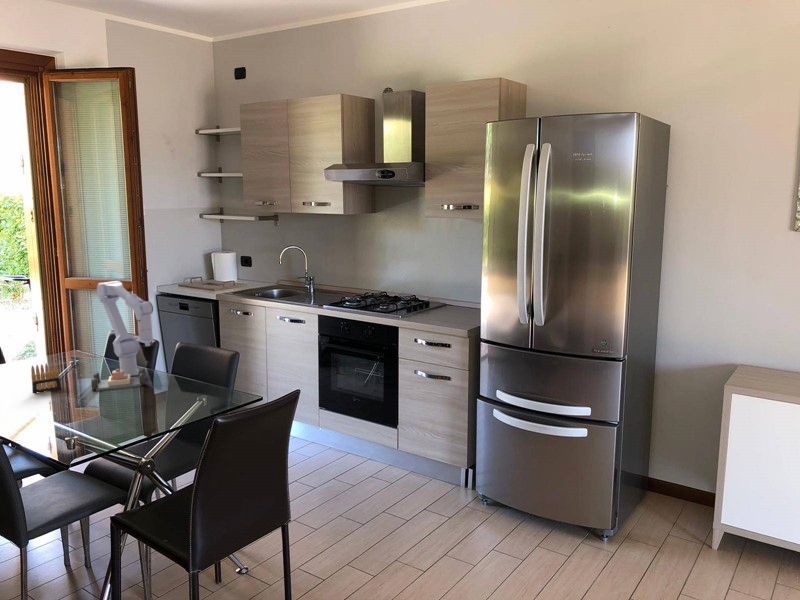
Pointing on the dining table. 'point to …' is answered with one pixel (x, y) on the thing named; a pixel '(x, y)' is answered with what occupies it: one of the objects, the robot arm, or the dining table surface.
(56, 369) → the ammunition clip
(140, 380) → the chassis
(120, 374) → the block
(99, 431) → the dining table surface
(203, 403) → the dining table surface
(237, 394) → the dining table surface
